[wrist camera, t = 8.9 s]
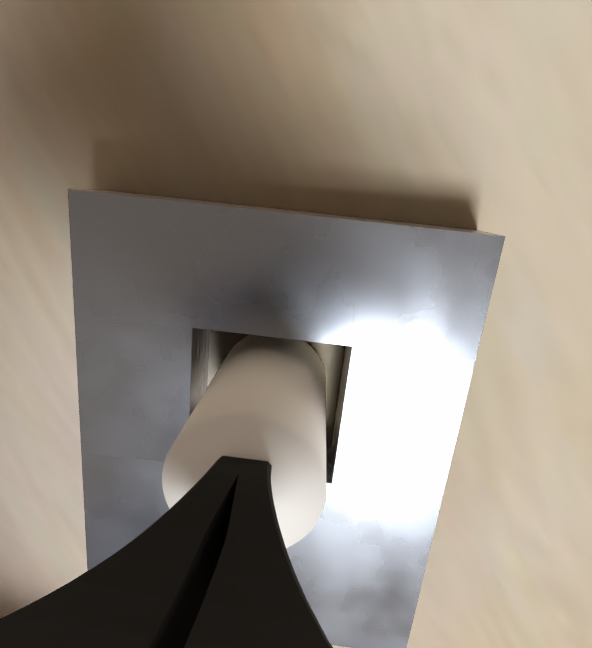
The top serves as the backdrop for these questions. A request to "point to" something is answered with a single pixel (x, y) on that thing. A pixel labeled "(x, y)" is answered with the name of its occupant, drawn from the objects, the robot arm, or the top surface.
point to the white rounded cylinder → (261, 428)
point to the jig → (289, 323)
